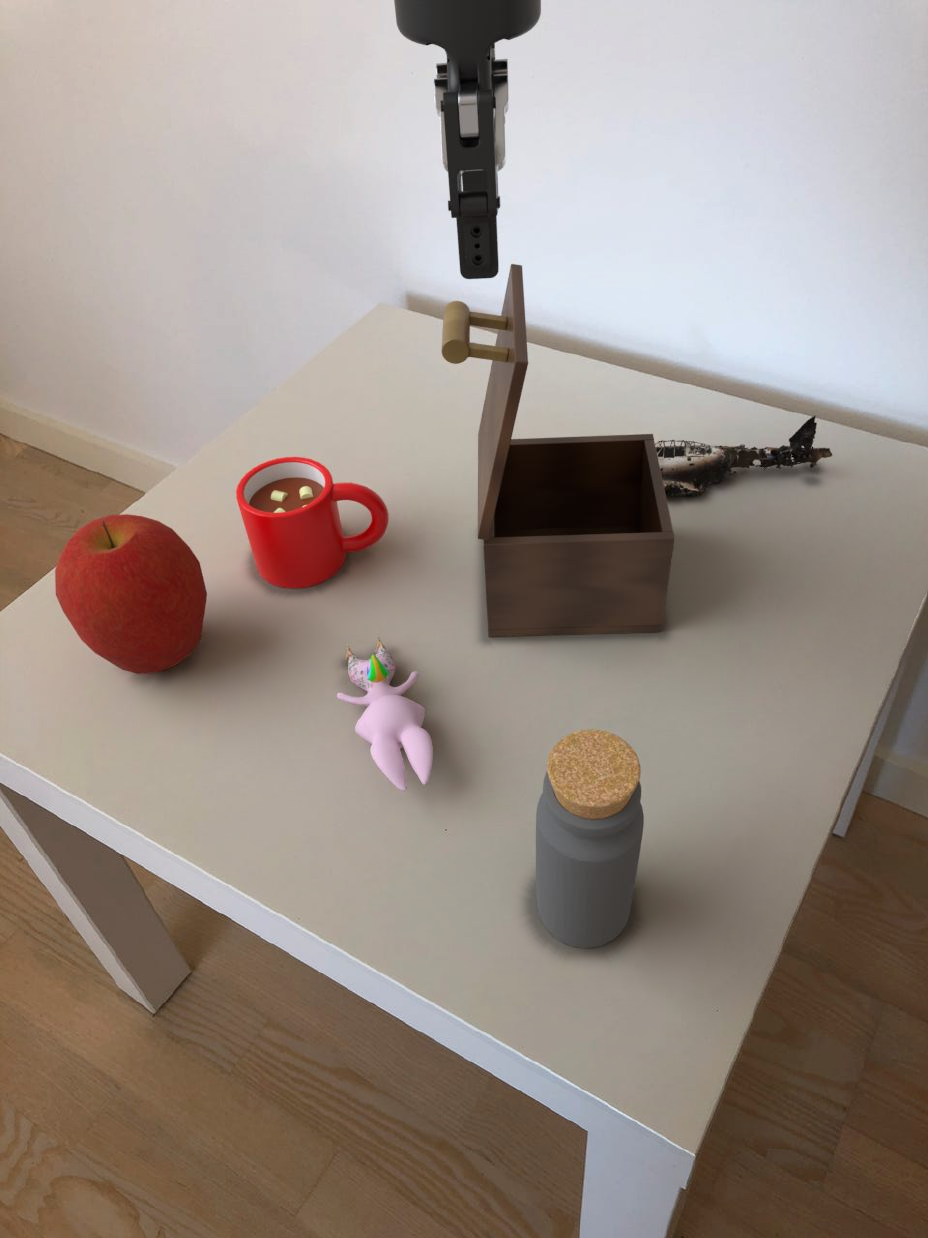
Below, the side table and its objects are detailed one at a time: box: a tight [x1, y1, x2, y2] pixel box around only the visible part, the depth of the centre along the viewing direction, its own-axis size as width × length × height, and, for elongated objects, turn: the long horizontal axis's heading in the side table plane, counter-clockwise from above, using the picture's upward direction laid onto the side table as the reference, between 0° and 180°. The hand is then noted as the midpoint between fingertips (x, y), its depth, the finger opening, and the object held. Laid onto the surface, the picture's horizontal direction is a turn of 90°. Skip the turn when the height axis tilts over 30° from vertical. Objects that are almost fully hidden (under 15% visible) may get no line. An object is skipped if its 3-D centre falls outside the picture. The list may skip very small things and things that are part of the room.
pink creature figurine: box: [336, 634, 434, 792], centre depth 67 cm, size 6×6×15 cm
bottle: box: [535, 729, 645, 949], centre depth 53 cm, size 6×6×15 cm
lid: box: [441, 263, 529, 541], centre depth 66 cm, size 14×13×5 cm
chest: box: [482, 433, 676, 638], centre depth 75 cm, size 14×13×10 cm
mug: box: [235, 456, 390, 589], centre depth 80 cm, size 8×12×8 cm, turn 95°
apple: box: [54, 513, 208, 675], centre depth 70 cm, size 10×10×14 cm
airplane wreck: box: [655, 415, 833, 497], centre depth 85 cm, size 6×18×6 cm, turn 94°
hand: (480, 242), depth 58 cm, fingers open, 8 cm apart
